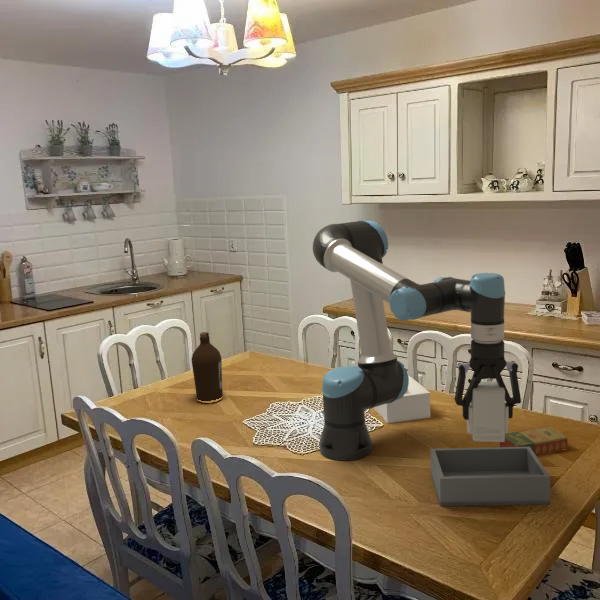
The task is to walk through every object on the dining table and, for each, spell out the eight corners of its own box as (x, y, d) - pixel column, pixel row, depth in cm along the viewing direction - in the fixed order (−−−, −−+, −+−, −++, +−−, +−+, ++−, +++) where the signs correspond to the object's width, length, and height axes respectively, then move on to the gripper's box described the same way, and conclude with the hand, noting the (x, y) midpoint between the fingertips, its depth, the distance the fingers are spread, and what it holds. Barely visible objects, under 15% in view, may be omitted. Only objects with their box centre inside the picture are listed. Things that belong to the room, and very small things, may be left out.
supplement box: (505, 442, 145) (505, 391, 142) (472, 441, 146) (472, 391, 144) (501, 429, 152) (501, 380, 149) (470, 429, 153) (470, 380, 151)
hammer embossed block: (402, 392, 222) (401, 363, 219) (430, 418, 197) (429, 385, 195) (364, 397, 219) (362, 368, 217) (387, 424, 195) (386, 391, 193)
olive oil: (196, 406, 219) (189, 338, 214) (194, 396, 229) (188, 331, 224) (226, 402, 221) (220, 334, 216) (223, 393, 231) (217, 328, 226)
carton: (568, 450, 170) (568, 436, 169) (516, 460, 166) (516, 445, 166) (549, 438, 178) (549, 424, 177) (499, 447, 174) (499, 433, 173)
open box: (440, 506, 145) (440, 478, 144) (430, 473, 161) (430, 448, 159) (549, 504, 143) (550, 476, 142) (529, 471, 159) (529, 446, 157)
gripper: (445, 345, 142) (446, 438, 146) (537, 342, 140) (535, 436, 144) (440, 337, 149) (441, 426, 153) (527, 333, 147) (526, 423, 152)
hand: (487, 431), depth 149 cm, fingers closed on supplement box, 8 cm apart
